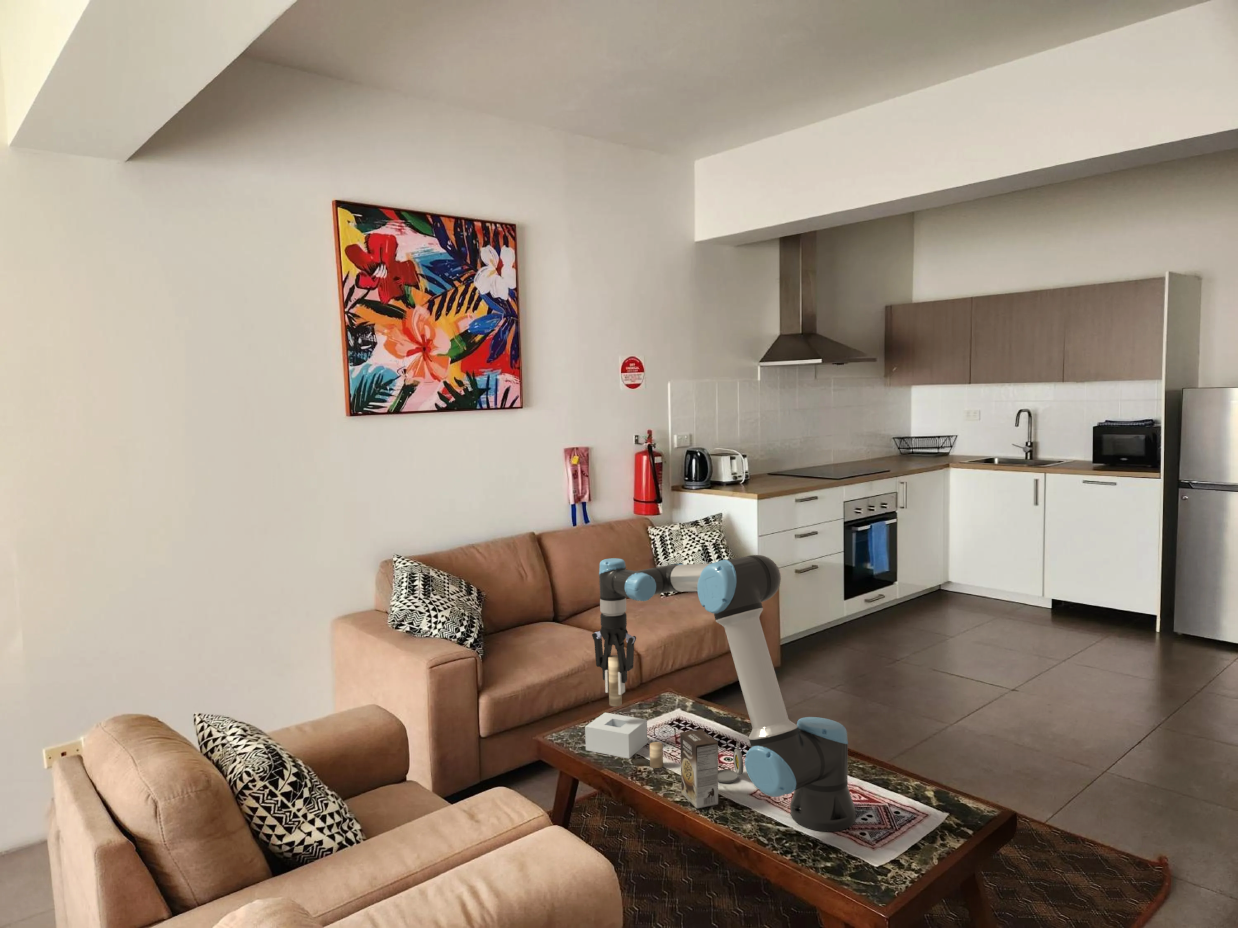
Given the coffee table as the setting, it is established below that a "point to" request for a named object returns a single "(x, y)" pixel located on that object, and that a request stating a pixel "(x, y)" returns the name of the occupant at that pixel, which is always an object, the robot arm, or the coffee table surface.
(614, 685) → the tall peg
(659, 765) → the short peg
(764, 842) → the coffee table surface
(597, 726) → the hole block
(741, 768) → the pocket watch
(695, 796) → the coffee box
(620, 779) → the coffee table surface
